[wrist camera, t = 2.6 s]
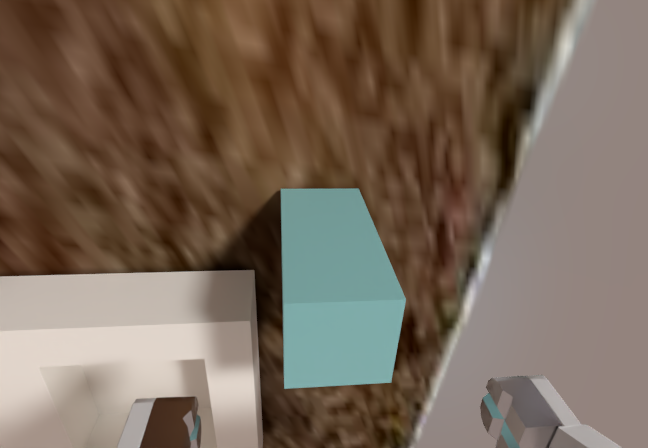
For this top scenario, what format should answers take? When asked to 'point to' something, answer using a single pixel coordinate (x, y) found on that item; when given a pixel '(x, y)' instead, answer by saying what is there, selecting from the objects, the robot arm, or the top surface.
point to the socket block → (127, 355)
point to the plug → (336, 292)
